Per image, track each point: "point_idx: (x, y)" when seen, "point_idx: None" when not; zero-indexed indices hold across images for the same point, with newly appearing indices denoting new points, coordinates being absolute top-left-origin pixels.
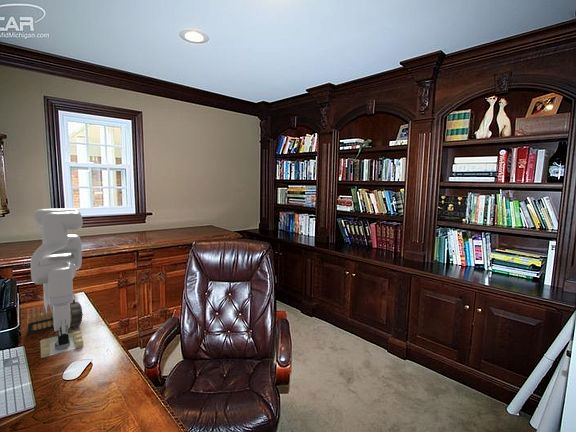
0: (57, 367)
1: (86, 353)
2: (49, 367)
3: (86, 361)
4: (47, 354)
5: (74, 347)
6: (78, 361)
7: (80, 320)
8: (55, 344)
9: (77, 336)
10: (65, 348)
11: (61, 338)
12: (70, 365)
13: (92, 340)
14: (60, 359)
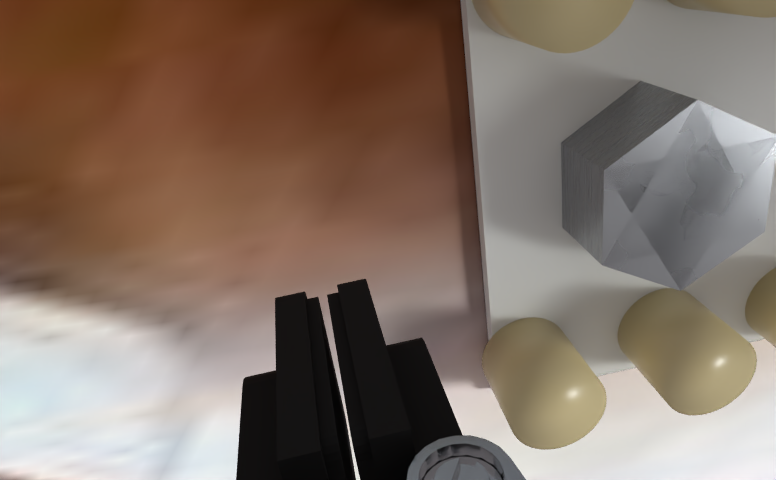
0: (74, 181)
1: None
2: (115, 77)
3: (114, 457)
4: (482, 8)
5: (531, 308)
6: (149, 385)
7: None
8: (671, 112)
9: (710, 371)
10: (563, 216)
11: (239, 469)
12: (74, 320)
13: (617, 437)
14: (305, 185)
